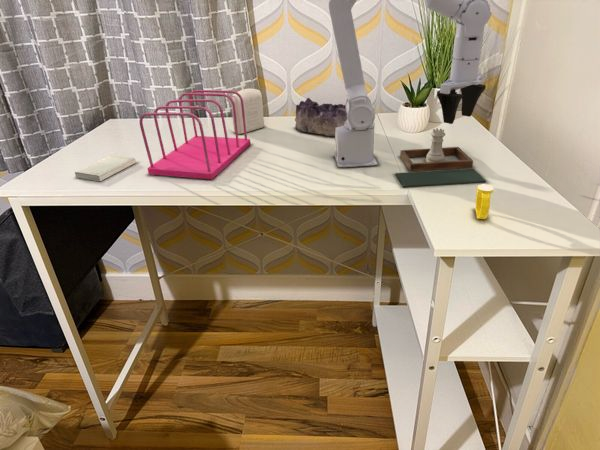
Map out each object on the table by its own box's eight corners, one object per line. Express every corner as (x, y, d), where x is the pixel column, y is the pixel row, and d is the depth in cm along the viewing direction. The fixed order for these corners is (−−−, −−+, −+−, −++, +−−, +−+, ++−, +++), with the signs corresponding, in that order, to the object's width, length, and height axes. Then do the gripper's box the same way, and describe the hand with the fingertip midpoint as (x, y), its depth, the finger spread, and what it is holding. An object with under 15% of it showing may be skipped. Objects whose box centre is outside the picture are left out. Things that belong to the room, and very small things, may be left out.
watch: (470, 207, 84) (475, 179, 81) (485, 208, 83) (491, 180, 80) (474, 223, 79) (479, 193, 76) (490, 224, 78) (496, 194, 75)
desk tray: (410, 171, 100) (410, 164, 99) (400, 156, 109) (400, 150, 108) (472, 167, 101) (473, 160, 100) (457, 153, 109) (458, 146, 108)
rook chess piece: (445, 166, 102) (449, 133, 98) (425, 165, 103) (429, 132, 99) (443, 159, 106) (447, 127, 102) (424, 158, 107) (428, 127, 103)
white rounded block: (258, 124, 139) (254, 85, 132) (266, 127, 136) (263, 86, 130) (232, 132, 132) (227, 91, 126) (240, 135, 130) (235, 93, 124)
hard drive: (99, 175, 103) (134, 157, 113) (74, 171, 106) (111, 154, 116) (100, 182, 104) (136, 163, 114) (76, 178, 107) (112, 159, 117)
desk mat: (403, 187, 93) (403, 185, 93) (395, 174, 99) (395, 173, 99) (485, 182, 93) (485, 180, 93) (472, 169, 100) (473, 168, 99)
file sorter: (148, 175, 106) (132, 111, 98) (196, 141, 127) (186, 87, 119) (212, 180, 101) (201, 114, 94) (251, 144, 122) (245, 87, 114)
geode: (285, 134, 128) (284, 100, 125) (302, 128, 138) (302, 96, 134) (350, 139, 120) (350, 101, 116) (363, 132, 129) (364, 97, 126)
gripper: (464, 65, 88) (455, 129, 95) (500, 55, 96) (489, 115, 103) (434, 61, 93) (428, 123, 100) (471, 52, 101) (462, 110, 107)
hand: (457, 119), depth 101 cm, fingers open, 7 cm apart
